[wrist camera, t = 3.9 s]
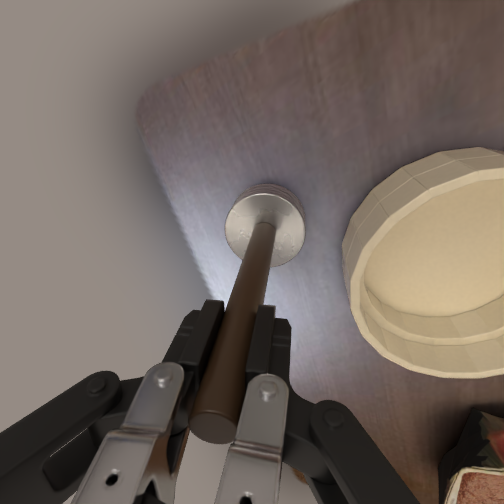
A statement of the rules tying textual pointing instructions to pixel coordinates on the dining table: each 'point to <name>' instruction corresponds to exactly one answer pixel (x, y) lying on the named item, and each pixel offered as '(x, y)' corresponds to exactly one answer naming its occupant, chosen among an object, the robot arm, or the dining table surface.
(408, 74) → the dining table surface
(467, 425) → the baking dish
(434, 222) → the bowl
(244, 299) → the rod with silver disc
